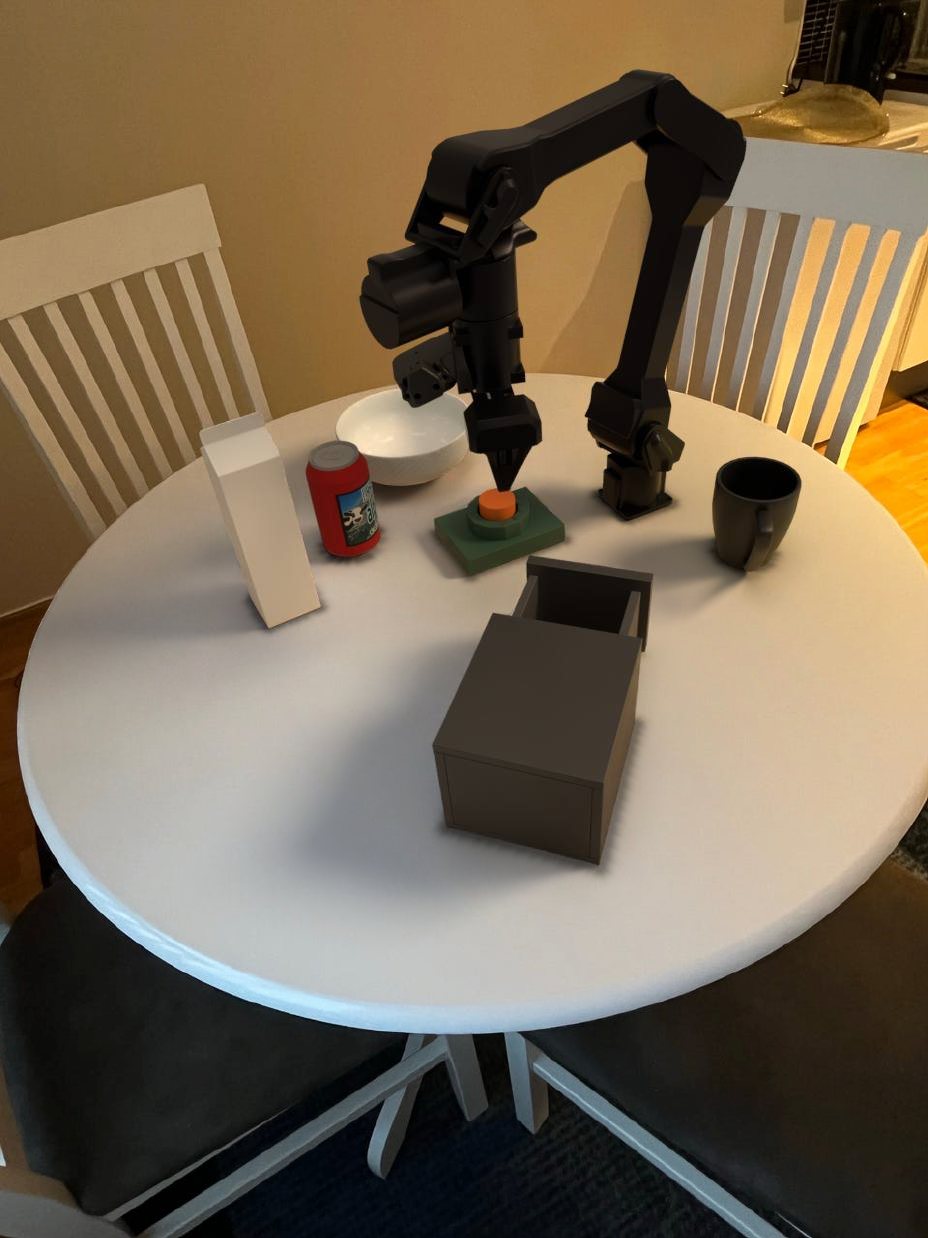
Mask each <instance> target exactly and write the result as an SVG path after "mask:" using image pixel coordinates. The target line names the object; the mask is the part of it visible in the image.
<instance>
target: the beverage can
mask: <svg viewBox="0 0 928 1238" xmlns="http://www.w3.org/2000/svg"><path fill="white" fill-rule="evenodd" d="M304 471H305V472H304V473H305V477H306V481H307V486H308V490H309V494H310V499H311V503H312V507H313V509H314V516H315V519H316V522H317V523H316V524H317V527H318V530H319V535H320V538H321V542H322V545H323V547H324V548H325V550H326V551H327V552H329V553H330V554H332V555H335V556H338V557H340V556H341V557H355V556H359V555H362V554H365V553H366V552H368V551H370V550H371V549H373V548H374V547H376V545H377V544H378V542H379V541H380V539H381V529H380V522H379V517H378V512H377V505H376V501H375V495H374V490H373V485H372V481H371V479H370V474H369V469H368V464H367V460H366V458H365V457H364V456H363V455H362V454H361V453H360V451H359V450H358V448H357V446H356V445H355V444H353V443H351V442H347V441H337V440H332V441H327V442H323V443H321V444H319V445H317V446H315V447H314V448H313V449H312V450H311V451H310V452H309V454H308V461H307V464H306V467H305V470H304Z"/></svg>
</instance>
